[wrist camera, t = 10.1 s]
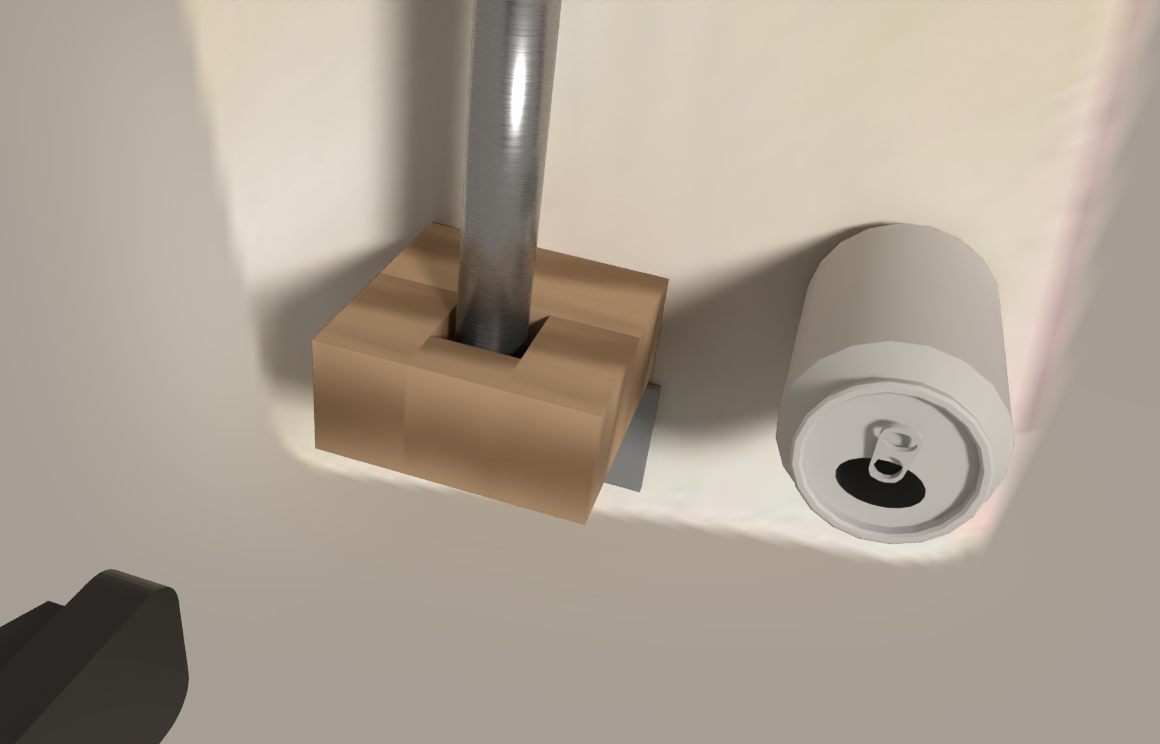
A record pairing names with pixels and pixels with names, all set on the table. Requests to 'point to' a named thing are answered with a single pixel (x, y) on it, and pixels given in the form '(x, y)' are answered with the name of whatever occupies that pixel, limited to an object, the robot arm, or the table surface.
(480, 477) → the bearing block
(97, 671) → the robot arm
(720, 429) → the table surface
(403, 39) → the table surface
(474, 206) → the shaft
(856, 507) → the can
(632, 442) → the mat
